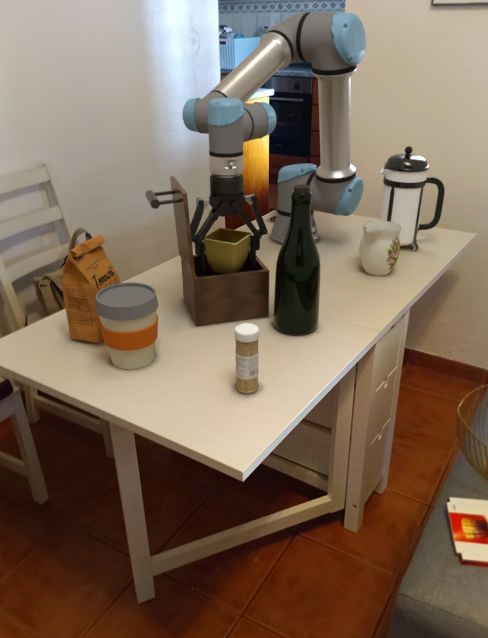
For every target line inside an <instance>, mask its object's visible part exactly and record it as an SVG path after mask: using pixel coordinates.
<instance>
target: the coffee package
mask: <svg viewBox="0 0 488 638" xmlns="http://www.w3.org/2000/svg"><path fill="white" fill-rule="evenodd" d="M105 242H106V241H105V239H104V237H103V235H102V234H98V235H97V236H94V237H91V238H90V239H87V240H85V241H82V242H80V243H78V244H77V245H75V246H74V247H73V248H72V249H70V250H69V251H68V254H67V257H66V258H65V259H66V260H65V264H64V266H63V269H62V273H61V285H62V286H61V287H62V295H63V296H62V297H63V304H64V309H65V314H66V319H67V324H68V329H69V335H70V338H71V339H72V340H77V341H78V340H82V341H86V342H88V343H102V342H103V341H104V339H103V335H102V332H101V328H100V325H99V320H100V317H99V314H98V313H97V312H96V294H97V293H98V292H99V291H100V290H101V289H103V288H105V287H107V286H110V285H114V284H118V283H121V280H120V276H119V274H118V272H117V270H116V268H115V267H114V264H113V263H112V261H111V260H110V259H109V258H108V256H107V253H106V251H105V250H104V247H103V246H102V245H104V243H105Z"/></svg>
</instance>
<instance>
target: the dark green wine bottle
mask: <svg viewBox="0 0 488 638" xmlns="http://www.w3.org/2000/svg"><path fill="white" fill-rule="evenodd" d="M311 200H312V192H311V191H310V186H309V185H306V184H297V185H295V186H294V191H292V194H291V215H290V223H289V228H288V231H287V234H286V237H285V239H284V242H283V244H281V246H280V249H279V252H278V254H277V258H276V263H275V265H276V266H275V274H274V275H275V276H274V293H273V326H274V327H275V329H277V331H279V332H281V333H283V334H287V335H291V336H302V335H307V334H310V333H312V332H314V331H315V330H316V329H318V328H317V327H318V326H319V314H320V295H321V257H320V252H319V249H318V246H317V243H316V242H315V240H314V237H313V233H312V227H311Z"/></svg>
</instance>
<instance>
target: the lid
mask: <svg viewBox="0 0 488 638" xmlns="http://www.w3.org/2000/svg"><path fill="white" fill-rule="evenodd" d="M169 179H170V180H169V181H170V188H171V189H170V190H163V191H156V192H154V191H153V190H151V189H148V190H147V191H146V192H145V194H144V195H145V198H146V199H147V201H148V203H149V206H150V207H151V208H152V209H155V210H156V209H157V210H158V209H159V207H160V206H163V205H169V204H170V205H171V204H172V206H173V215H174V224H175V230H176V232H175V233H176V240H177V248H178V249H177V250H178V255H179V258H180V260H181V259H182V261H183V262H184V264H185V266H186V268H187V270H188V272H189V273H190V275H191V277H196V276H195V267H194V257H193V255H194V249H193V248H194V247H193V242H192V238H191V228H190V224H191V219H190V210H189V201H188V200H189V199H188V192H186V190H185V188H184V187H183V186H182V184H181V183H180V182H179V181H178V179H177V178H176V177H175V176H174V175H172V176H171V175H170V176H169ZM168 195H169V196H170V195H171V197H172V198H171V199H165V200H159V198H158V197H160V196H168Z"/></svg>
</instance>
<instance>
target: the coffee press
mask: <svg viewBox="0 0 488 638" xmlns="http://www.w3.org/2000/svg"><path fill="white" fill-rule="evenodd" d="M413 151H414V150H413V147H412V146H410V145H408V146H406V147H405V149H404V152H405V153H396V154H393V155H391V156H389V157H388V158H387V160H386V162H385V163H384V165H383V167H382V168H381V169H380V171H379V173H378V174H379V175H383V179H382V183H383V187H382V195H381V205H380V211H379V213H380V214H379V220H378V221H389V222H393V223H396V224H398V225H400V226H401V232H400V234H399V240H400V247H403V246H404V247H405V246H409V247H410V249H411V250H412V251H416V250H418V249H419V244H418V243H417V238H418V233H419V231H427V230H431V229H433V228H435V227H436V226H437V225H438V224H439V222H440V220H441V217H442V211H443V205H444V199H445V191H446V190H445V185H444V183H443V182H442V180H440V179H439V178H437V177H434V176H430V177H427V175H428V174H427V173H428V171H429V168H430V165H429V164H428V160H427V159H426V157H424V156H422V155H420V154H414V153H413ZM427 184H431V185H435V186H436V187H437V198H436V204H435V208H434V215H433V219H432V220H431V221H430V222H428V223H420V219H421V215H422V206H423V201H424V193H425V187H426V186H427Z"/></svg>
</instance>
